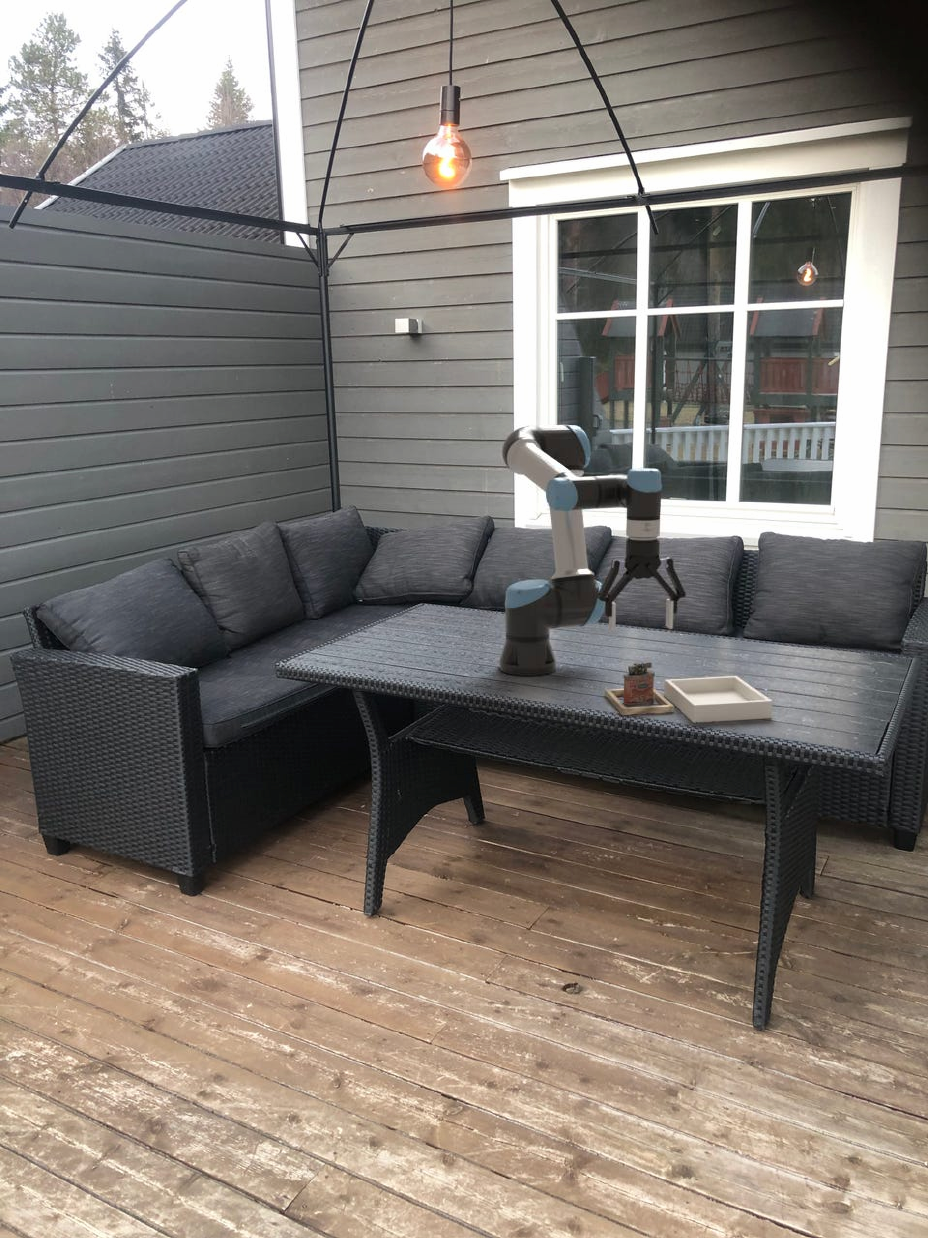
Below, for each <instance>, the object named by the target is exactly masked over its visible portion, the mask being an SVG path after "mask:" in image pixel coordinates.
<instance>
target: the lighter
mask: <svg viewBox="0 0 928 1238" xmlns="http://www.w3.org/2000/svg"><path fill="white" fill-rule="evenodd" d="M627 668H628V669H627V670H628V672H627V673H623V677H622V678H623V689H624V696H623V701H622V704H623V705H624V706H625V707H643V706H648V705H649V706H650V705H653V704H654V703H655V698H654V697H653V688H655V686H654V683H655V682H654V679H655V675H656V674H655V671H653V670H649V669H652V668H653V663H652V662H651V661H647V662H646V661H645V662H641V663H639V662H634V663H633V664H630V665H627Z"/></svg>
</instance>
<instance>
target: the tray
mask: <svg viewBox="0 0 928 1238" xmlns="http://www.w3.org/2000/svg"><path fill="white" fill-rule="evenodd" d="M663 694H664V695H663V697H664V698H666V699H667V700H668V701H669V702H670V703H671V704H672V705H673V706H674V707H676V708H677V709H678V708H679V709H680V710H681V712H682V713H683V714H684V715H685V716H686V717H687V718H688V719H689V720H690V721H691V722H692V723H693V724H694V723H696V722H697V723H713V721H714V722H726V721H727V722H728V721H743V720H745V721H746V720H760V719H761V720H762V719H763V720H765V719H772V712H773V711H772V709H773V700H772V699H770V698H769V697H767V696H766V695H764V694H763V693H761V692H760V691H759V690H757V689H755V687H753V686H751V685H750V684H748V683H747V682H746V681H745V680H743V679H742V678H740V677H739V676H737V675H730V676H729V675H727V676H710V677H709V676H708V677H690V678H676V679H675V678H673V679H672V678H671V679H664V691H663ZM679 709H678V710H679ZM680 710H679V711H680ZM697 723H696V724H697Z"/></svg>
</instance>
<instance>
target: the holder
mask: <svg viewBox="0 0 928 1238" xmlns="http://www.w3.org/2000/svg"><path fill="white" fill-rule="evenodd" d="M604 692H605V693H604V697H606V698H607V700H608V701H609V702H610V703H611V704H612V706H614V707H615V709H616V710H617V709H618V710H619V713H620V714H621V715H622V716H632V715H631V714H638V715H645V714H644V713H655V714H666V713H665V712H673V713H674V711H675V708H674V707H675V705H674V704H673V703H672V702H671V701H670V700H669V699H667V698H666V697H665V696H664V695H662V693H660V692H659V691H658V690H657V689H656V688H655V687H654V688H653V699H654V700H655V701H656V702H657V703H658V704H660V705H649V706H648V705H645V706H638V707H625V706H624V705H623V702H622V701H620V699H619V697H624V688H613V689H609V688H608V689H605V690H604ZM618 710H617V711H618Z"/></svg>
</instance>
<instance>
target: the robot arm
mask: <svg viewBox="0 0 928 1238" xmlns="http://www.w3.org/2000/svg"><path fill="white" fill-rule="evenodd" d="M591 452H592V451H591V444H590V441H589V439H588V436H587V434H586V432H585V431H584V430H583V428H581V427H580V426H578V425H571V424H570V425H569V424H557V425H556V424H554V425H553V424H552V425H551V424H550V425H527V426H523V427H519V428H516V429H515V430H514V431H512V432H511V433H510V434H509V435H508V436H507V438H506V439H505V441H504V443H503V445H502V449H501V455H502V460H503V462H504V464H505V465H506V467H507V468H508V469H509V470H510V471H512V472H513V473H514V474H517V475H521V476H525V477H526V478H527V479H528V480H530V481H531V482H532V483H533V484H535V486H537V487H538V488H540V489H541V490H543V492H545V498H546V503H548V507H549V514H550V515H549V516H550V527H551V537H552V544H553V556H554V564H555V566H554V567H555V572H554V574H553V575H552V577H551V578H550V580H551V582H550V581H548V580H546V579H542V578H541V579H540V578H539V579H526V580H522V581H517V582H515V583H513V584H510V585H509V586H508V587H507V588H506V591H505V599H504V600H505V601H504V607H505V610H504V611H505V613H504V614H505V642H504V645H503V648H502V651H501V655H500V657H499V661H498V662H499V663H498V664H499V666H498V669H499V668H500V669H499V670H500V671H501V672H502V671H503V672H502V673H504V672H505V673H504V674H507V673H508V674H507V675H511V674H512V675H513V676H517V677H518V676H519V677H533V676H534V677H536V676H543V675H547V674H551V673H553V672H555V671H556V669H557V666H556V665H557V660H556V656H555V653H554V651H553V647H552V643H551V642H550V633H551V632H550V631H551V629H560V628H572V627H584V626H588V625H594V624H596V623H597V622H599V620H600V619H601V618H602V615H603V613H604V615H605V616H606V617H607V618H608V629H609V630H610V631H611V632H616V617H617V614H616V613H617V609H616V608H617V604H616V602H614V601H615V600H616V598H617V597H618V596H619V595H620V594H621V592H622V591H623V590H624V589H625V588H626V587H627V585H628V584H629V583H630V582H631V581H633V579H636V580H641V579H647V580H648V579H649V580H650V579H651V578H653V579H654V580H655V581H656V583H657V584H658V585H659V586H660V587H661V589H662V590H663V591H664V592H665V593H666V594H667V596H668V597H669V598H666V603H665V609H666V610H665V627H666V628H667V629H669V630H672V629H673V628H674V622H673V621H674V615H675V614H677V613H678V602H679V601H680V599H681V598H685V597H686V596H687V593H686V591H685V589H684V587H683V585H682V583H681V580H680V578H679V577H678V575H677V572H676V569H675V568H674V567H675V566H674V560H673V558H672V557H670V556H666V557H664V558H661V557H660V547H661V546H660V545H661V544H660V543H661V542H660V541H661V540H660V539H659V538H658V537H660V536H661V535H660V534H661V510H662V508H661V507H662V504H661V503H662V488H663V485H662V473H661V471H660V469H657V468H649V467H647V468H646V467H644V468H642V467H639V468H631V469H629V470H628V472H627V474H624V473H611V474H608V475H596V476H595V475H594V476H592V475H591V476H583V475H584V474H585V471H584V469H585V468H587V466H589V463H590V460H591V458H590V457H591ZM614 508H615V509H616V508H617V509H618V508H624V509H626V529H625V531H626V532H625V534H626V537H628V538H626V540H625V558H624V560H618V559H616V558H613V559H612V560H611V564H610V569H609V571H608V573H607V575H606V577H605V579H604V581H603V583H602V582H601V581H598V580H596V579H595V578H596V577H595V573H594V572H593V571H592V570H590V569H589V565H588V557H587V556H588V555H587V547H586V546H587V545H586V536H585V526H584V516H583V510H594V509H595V510H596V509H597V510H598V509H614ZM661 565H662V567H663V568H665V571H666V573H667V574H668V577H669V579H670V581H671V584H672V585H673V588H674V590H675V591H676V592H675V591H674V590H673V589H672V587H670V585H669V584H668V583H667V581H666V580H665V579H664V578H663V576H662V575H661V574H660V573H659V572H658V569H659V568H660V566H661ZM623 567H624V568H625V569H626V570H625V571H624V573H623V575H622V577H620V579H619V580H618V581H617V582H616V584H615V585H614V586H613V584H614V583H615V580H616V579H617V577H618V574H619V572H620V570H621V569H622V568H623ZM550 583H551V584H550ZM612 586H613V587H612ZM611 588H612V589H611ZM512 675H511V676H512Z"/></svg>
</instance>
